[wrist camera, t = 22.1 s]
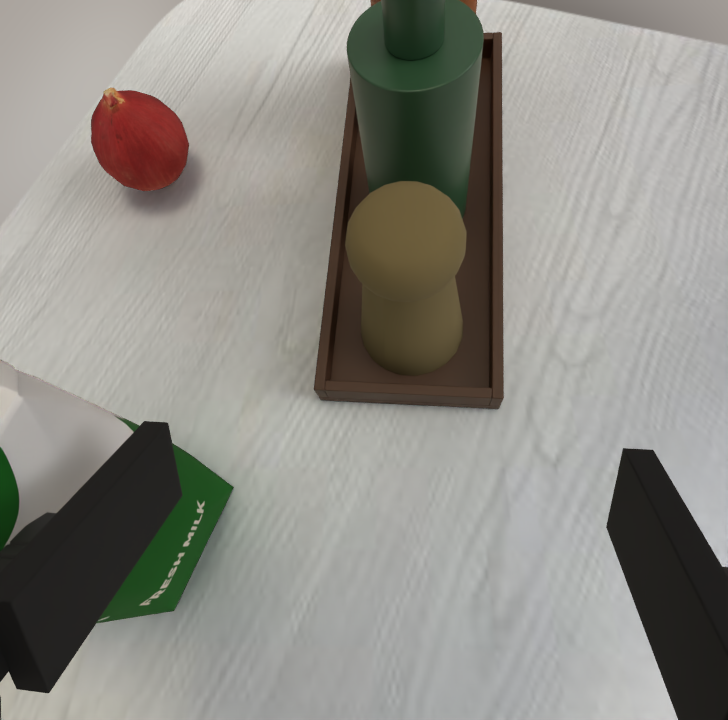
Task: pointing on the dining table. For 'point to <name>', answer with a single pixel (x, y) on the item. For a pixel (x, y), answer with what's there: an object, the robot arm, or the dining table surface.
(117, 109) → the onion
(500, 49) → the tray
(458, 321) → the cork
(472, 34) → the green bottle
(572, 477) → the dining table surface
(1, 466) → the milk carton
